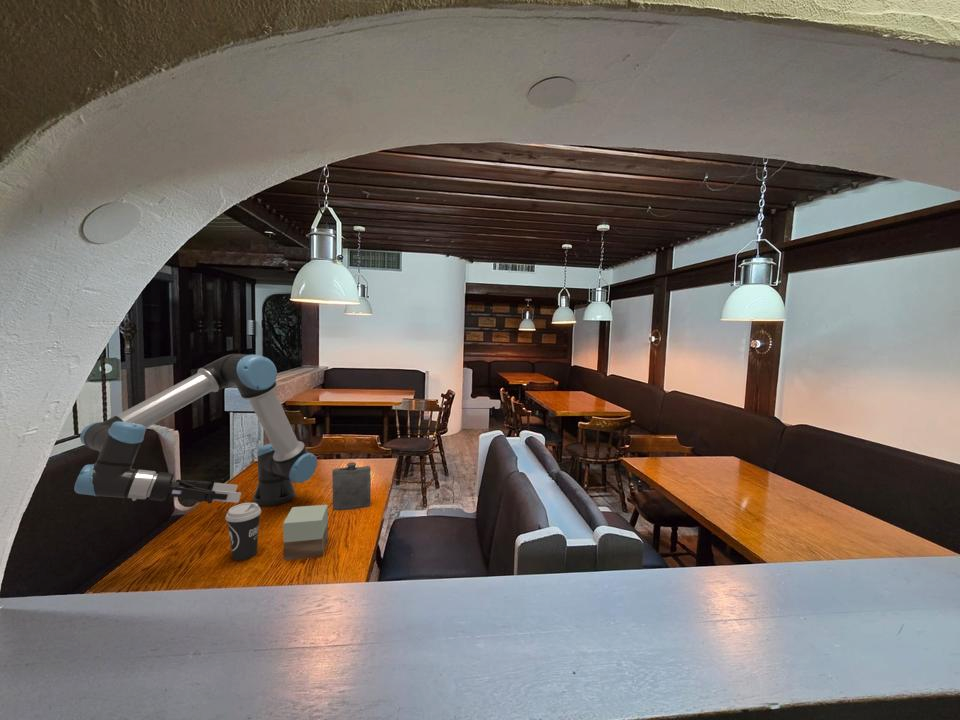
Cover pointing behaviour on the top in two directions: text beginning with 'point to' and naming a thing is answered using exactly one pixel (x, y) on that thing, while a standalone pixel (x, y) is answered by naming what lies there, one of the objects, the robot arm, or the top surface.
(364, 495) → the flask
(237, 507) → the coffee cup
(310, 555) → the tower base
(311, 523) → the tower top
